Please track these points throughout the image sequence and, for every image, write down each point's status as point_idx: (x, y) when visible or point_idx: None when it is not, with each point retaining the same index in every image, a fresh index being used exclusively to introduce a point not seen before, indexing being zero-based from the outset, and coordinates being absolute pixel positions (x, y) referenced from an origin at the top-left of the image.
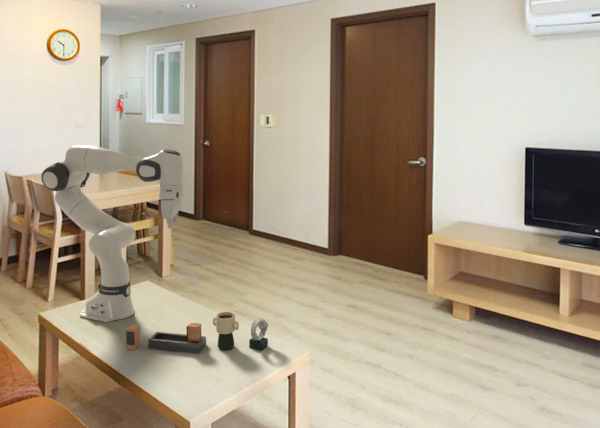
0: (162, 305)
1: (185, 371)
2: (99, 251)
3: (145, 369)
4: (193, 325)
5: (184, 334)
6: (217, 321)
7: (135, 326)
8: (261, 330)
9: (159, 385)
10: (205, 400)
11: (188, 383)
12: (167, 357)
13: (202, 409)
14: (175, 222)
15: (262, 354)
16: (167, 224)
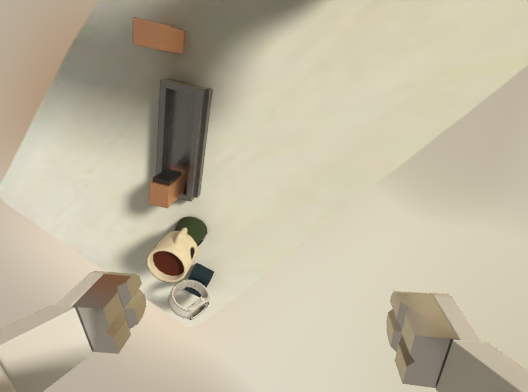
0: (439, 44)
1: (100, 171)
2: None
3: (88, 97)
4: (155, 193)
5: (194, 158)
6: (156, 246)
7: (150, 41)
8: (206, 296)
9: (49, 136)
10: (37, 209)
11: (68, 180)
12: (139, 129)
13: (17, 207)
14: (390, 322)
15: None
16: (61, 300)
